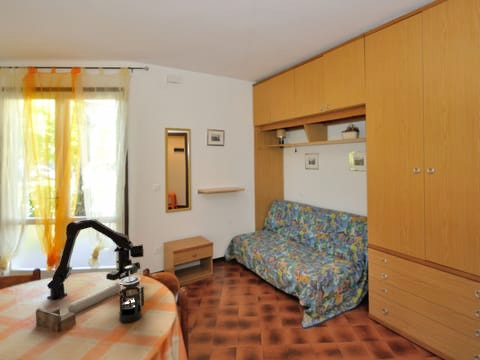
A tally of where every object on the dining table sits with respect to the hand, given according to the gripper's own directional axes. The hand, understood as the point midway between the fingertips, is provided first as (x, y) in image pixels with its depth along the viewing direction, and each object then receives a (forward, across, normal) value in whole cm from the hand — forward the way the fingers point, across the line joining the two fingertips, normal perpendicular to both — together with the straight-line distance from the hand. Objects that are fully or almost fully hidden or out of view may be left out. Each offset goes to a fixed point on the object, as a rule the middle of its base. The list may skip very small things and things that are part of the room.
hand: (124, 286), depth 147 cm
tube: (+2, -17, +1) cm, 17 cm away
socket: (+1, -37, 0) cm, 37 cm away
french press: (+1, -20, -26) cm, 33 cm away
